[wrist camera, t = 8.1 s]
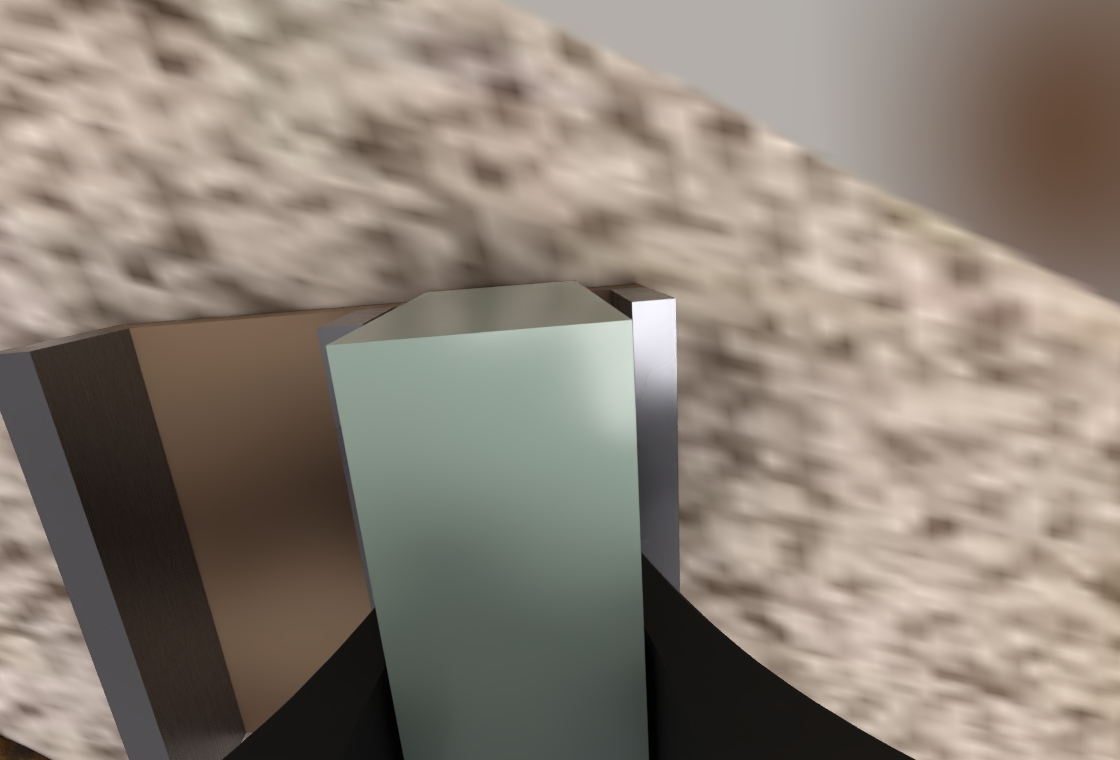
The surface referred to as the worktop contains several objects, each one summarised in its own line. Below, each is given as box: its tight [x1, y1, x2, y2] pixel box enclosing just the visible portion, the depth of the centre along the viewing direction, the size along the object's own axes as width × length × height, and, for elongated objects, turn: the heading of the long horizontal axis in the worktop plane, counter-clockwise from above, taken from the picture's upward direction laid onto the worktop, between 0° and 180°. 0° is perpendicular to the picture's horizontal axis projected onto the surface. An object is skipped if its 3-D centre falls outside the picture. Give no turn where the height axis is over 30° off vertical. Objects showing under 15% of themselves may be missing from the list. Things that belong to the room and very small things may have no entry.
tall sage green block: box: [326, 281, 649, 760], centre depth 10 cm, size 3×10×6 cm, turn 4°
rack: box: [0, 284, 680, 760], centre depth 12 cm, size 11×12×3 cm
